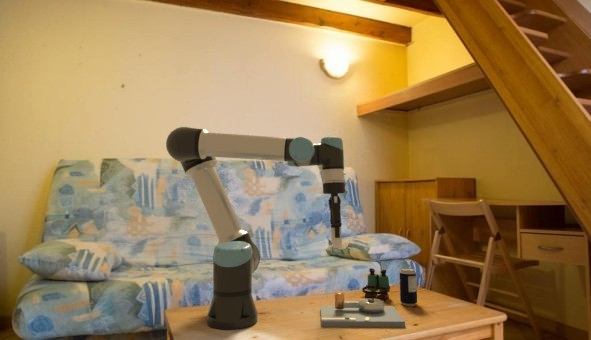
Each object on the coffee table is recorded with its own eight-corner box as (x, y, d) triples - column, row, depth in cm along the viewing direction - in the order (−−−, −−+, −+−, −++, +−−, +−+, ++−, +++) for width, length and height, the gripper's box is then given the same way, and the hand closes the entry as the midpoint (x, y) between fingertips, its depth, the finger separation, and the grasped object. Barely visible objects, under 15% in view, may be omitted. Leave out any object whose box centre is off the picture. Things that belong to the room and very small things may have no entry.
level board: (321, 326, 111) (321, 319, 111) (320, 310, 127) (320, 303, 127) (405, 326, 110) (405, 319, 110) (393, 310, 126) (393, 304, 126)
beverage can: (415, 302, 136) (414, 268, 137) (418, 306, 131) (417, 271, 132) (399, 301, 137) (398, 267, 138) (401, 306, 131) (400, 270, 132)
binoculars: (358, 273, 140) (368, 266, 148) (360, 302, 140) (370, 293, 148) (382, 276, 135) (391, 268, 143) (384, 305, 135) (393, 296, 143)
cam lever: (381, 305, 125) (381, 290, 126) (386, 313, 117) (385, 296, 118) (334, 305, 126) (333, 290, 126) (335, 313, 118) (335, 296, 119)
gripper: (348, 179, 119) (351, 249, 117) (341, 183, 143) (344, 241, 142) (323, 180, 119) (326, 250, 117) (321, 183, 144) (324, 241, 142)
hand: (336, 245), depth 130 cm, fingers open, 12 cm apart
